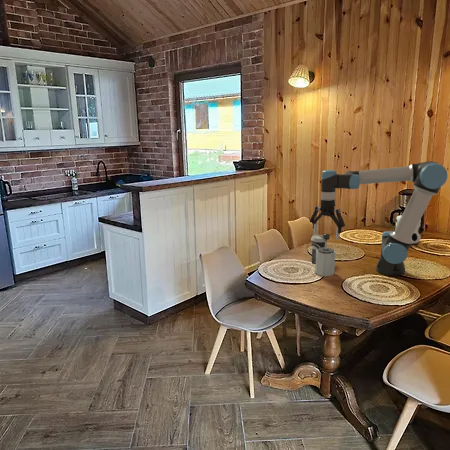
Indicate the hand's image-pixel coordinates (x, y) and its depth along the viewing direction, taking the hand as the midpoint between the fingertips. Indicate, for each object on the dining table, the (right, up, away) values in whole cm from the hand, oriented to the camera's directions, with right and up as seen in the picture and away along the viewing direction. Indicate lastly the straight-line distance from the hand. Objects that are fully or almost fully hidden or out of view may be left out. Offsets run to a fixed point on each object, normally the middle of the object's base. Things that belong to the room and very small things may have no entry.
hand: (326, 236), depth 213 cm
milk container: (+71, -6, +57) cm, 92 cm away
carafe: (-1, -20, +6) cm, 21 cm away
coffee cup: (+2, -15, +27) cm, 31 cm away
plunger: (0, -16, +4) cm, 16 cm away
